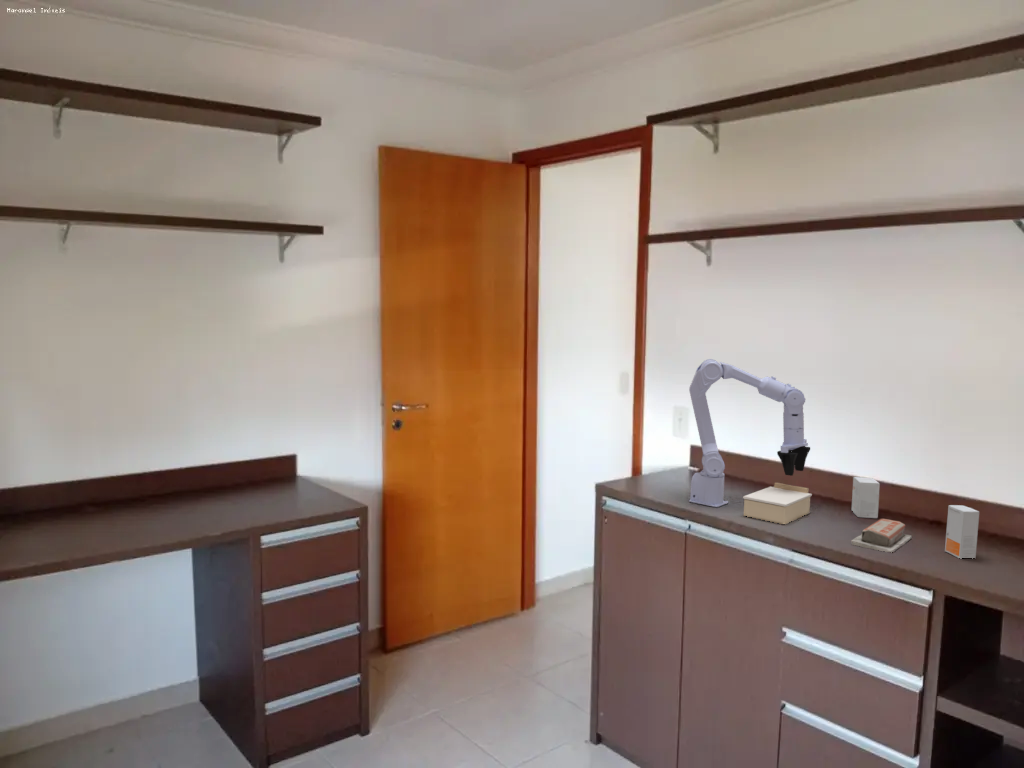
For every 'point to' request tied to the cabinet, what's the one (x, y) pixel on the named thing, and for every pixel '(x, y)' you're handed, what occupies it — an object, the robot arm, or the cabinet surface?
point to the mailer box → (776, 511)
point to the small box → (865, 497)
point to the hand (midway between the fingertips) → (794, 472)
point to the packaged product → (882, 536)
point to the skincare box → (962, 531)
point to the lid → (780, 494)
